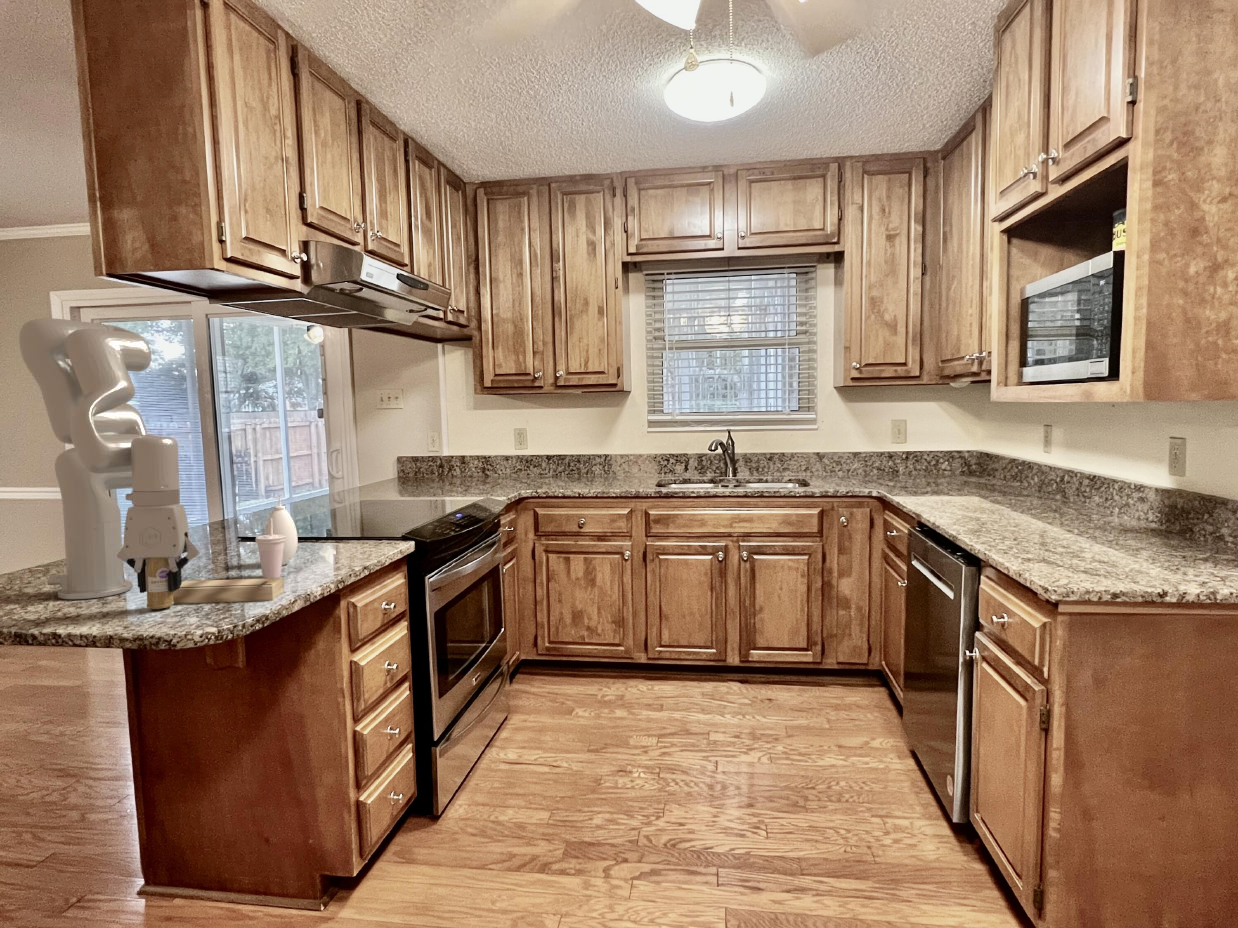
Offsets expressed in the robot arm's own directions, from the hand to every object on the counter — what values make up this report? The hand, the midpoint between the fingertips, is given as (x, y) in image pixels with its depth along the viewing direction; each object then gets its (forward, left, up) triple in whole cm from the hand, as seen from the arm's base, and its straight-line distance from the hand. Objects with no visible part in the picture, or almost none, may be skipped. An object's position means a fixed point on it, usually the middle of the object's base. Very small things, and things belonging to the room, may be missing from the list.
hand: (160, 589), depth 128 cm
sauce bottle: (+10, +38, -4) cm, 40 cm away
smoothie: (+12, +25, -4) cm, 28 cm away
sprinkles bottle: (0, 0, -4) cm, 4 cm away
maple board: (+10, +7, -4) cm, 12 cm away
